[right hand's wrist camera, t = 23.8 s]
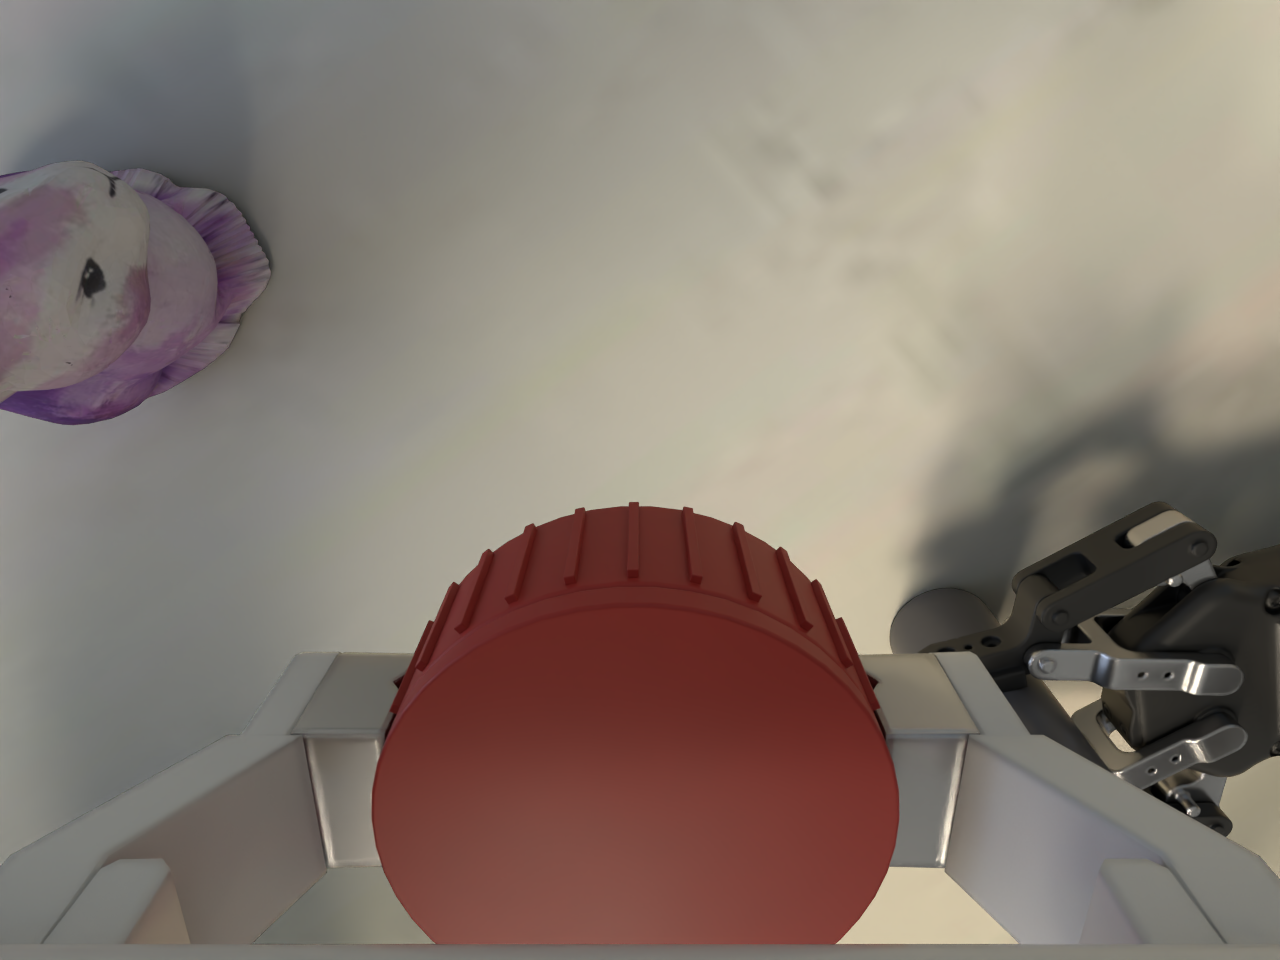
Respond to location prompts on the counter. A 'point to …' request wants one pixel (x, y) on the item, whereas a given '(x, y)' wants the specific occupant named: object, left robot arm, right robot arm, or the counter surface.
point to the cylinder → (967, 614)
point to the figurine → (115, 287)
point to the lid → (635, 746)
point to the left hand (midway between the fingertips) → (925, 741)
